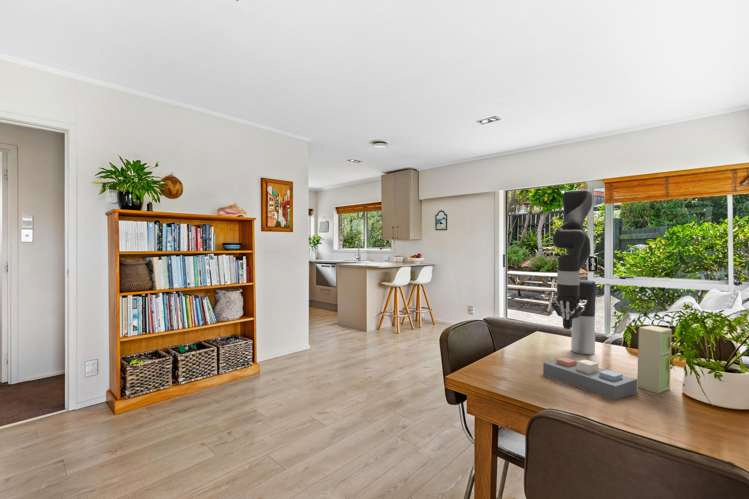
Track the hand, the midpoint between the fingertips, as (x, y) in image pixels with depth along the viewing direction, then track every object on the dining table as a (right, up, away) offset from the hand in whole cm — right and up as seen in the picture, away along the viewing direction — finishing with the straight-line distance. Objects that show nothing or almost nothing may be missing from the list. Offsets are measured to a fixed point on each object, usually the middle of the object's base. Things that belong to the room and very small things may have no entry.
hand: (567, 328), depth 139 cm
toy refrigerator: (+24, -19, -11) cm, 33 cm away
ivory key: (+4, -15, -7) cm, 16 cm away
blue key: (+8, -16, -14) cm, 22 cm away
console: (+4, -18, -7) cm, 20 cm away
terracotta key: (0, -16, 0) cm, 16 cm away
